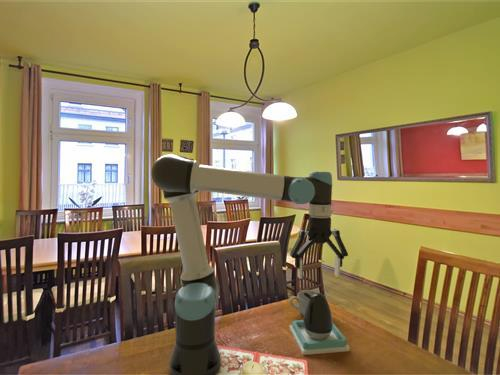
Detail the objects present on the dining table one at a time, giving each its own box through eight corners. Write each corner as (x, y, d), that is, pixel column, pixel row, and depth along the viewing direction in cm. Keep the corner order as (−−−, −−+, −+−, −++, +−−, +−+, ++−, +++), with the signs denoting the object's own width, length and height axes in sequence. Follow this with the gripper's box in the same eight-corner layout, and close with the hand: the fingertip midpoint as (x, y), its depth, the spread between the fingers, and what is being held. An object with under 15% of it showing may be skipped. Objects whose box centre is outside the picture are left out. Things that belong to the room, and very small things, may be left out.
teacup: (321, 308, 125) (321, 290, 124) (325, 321, 114) (325, 301, 113) (288, 306, 126) (289, 289, 126) (289, 319, 115) (290, 299, 115)
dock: (302, 354, 93) (303, 345, 93) (289, 328, 109) (289, 320, 108) (349, 351, 95) (350, 341, 95) (329, 325, 111) (330, 317, 111)
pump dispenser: (308, 324, 109) (309, 285, 108) (336, 333, 103) (337, 291, 103) (297, 337, 100) (298, 295, 100) (327, 347, 95) (328, 302, 94)
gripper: (287, 218, 94) (286, 282, 95) (359, 217, 97) (357, 279, 99) (282, 215, 101) (281, 274, 103) (348, 214, 105) (347, 271, 106)
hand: (318, 276), depth 101 cm, fingers open, 13 cm apart
